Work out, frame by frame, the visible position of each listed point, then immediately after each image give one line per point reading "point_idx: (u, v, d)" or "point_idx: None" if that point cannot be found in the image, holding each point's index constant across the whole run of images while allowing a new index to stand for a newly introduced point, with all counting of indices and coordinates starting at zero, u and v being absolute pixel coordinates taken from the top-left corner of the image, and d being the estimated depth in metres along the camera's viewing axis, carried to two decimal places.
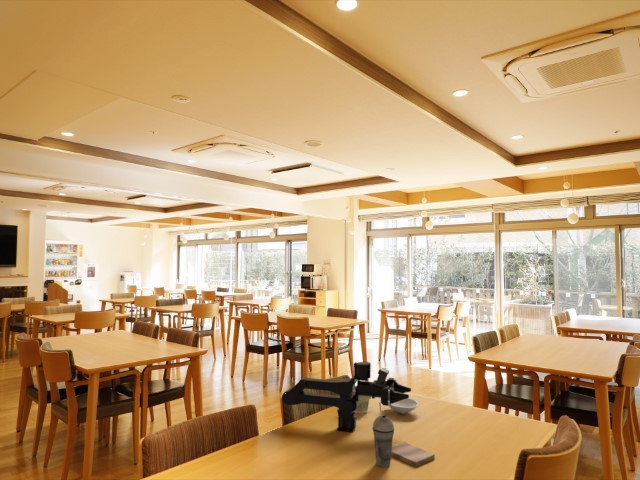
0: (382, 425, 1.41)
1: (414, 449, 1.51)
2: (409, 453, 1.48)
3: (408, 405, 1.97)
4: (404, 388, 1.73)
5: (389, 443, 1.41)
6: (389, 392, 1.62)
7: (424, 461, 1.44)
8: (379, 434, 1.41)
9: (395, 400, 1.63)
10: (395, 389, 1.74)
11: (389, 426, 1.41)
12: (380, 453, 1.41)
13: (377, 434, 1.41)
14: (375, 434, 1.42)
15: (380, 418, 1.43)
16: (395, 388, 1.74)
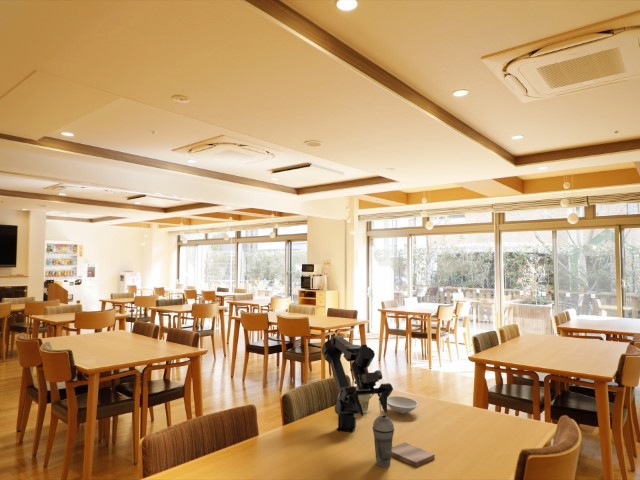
0: (382, 425, 1.41)
1: (414, 449, 1.51)
2: (409, 453, 1.48)
3: (408, 405, 1.97)
4: (383, 405, 1.54)
5: (389, 443, 1.41)
6: (349, 395, 1.52)
7: (424, 461, 1.44)
8: (379, 434, 1.41)
9: (353, 405, 1.54)
10: (381, 397, 1.58)
11: (389, 426, 1.41)
12: (380, 453, 1.41)
13: (377, 434, 1.41)
14: (375, 434, 1.42)
15: (380, 418, 1.43)
16: (381, 396, 1.57)
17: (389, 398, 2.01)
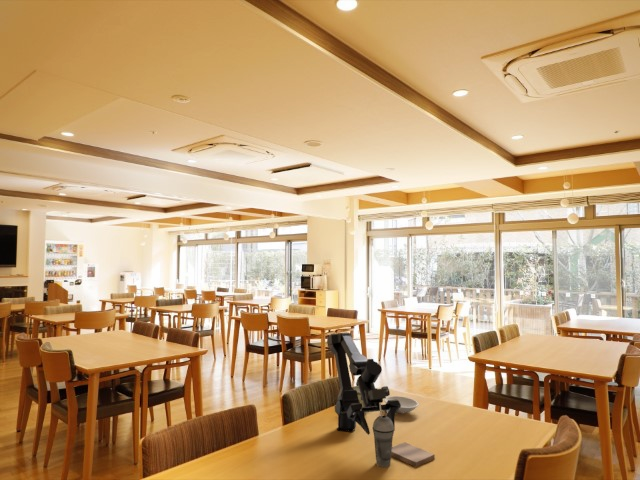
0: (382, 425, 1.41)
1: (414, 449, 1.51)
2: (409, 453, 1.48)
3: (408, 405, 1.97)
4: None
5: (389, 443, 1.41)
6: (355, 412, 1.46)
7: (424, 461, 1.44)
8: (379, 434, 1.41)
9: (359, 422, 1.47)
10: (388, 414, 1.51)
11: (389, 426, 1.41)
12: (380, 453, 1.41)
13: (377, 434, 1.41)
14: (375, 434, 1.42)
15: (380, 418, 1.43)
16: (388, 413, 1.51)
17: (389, 398, 2.01)
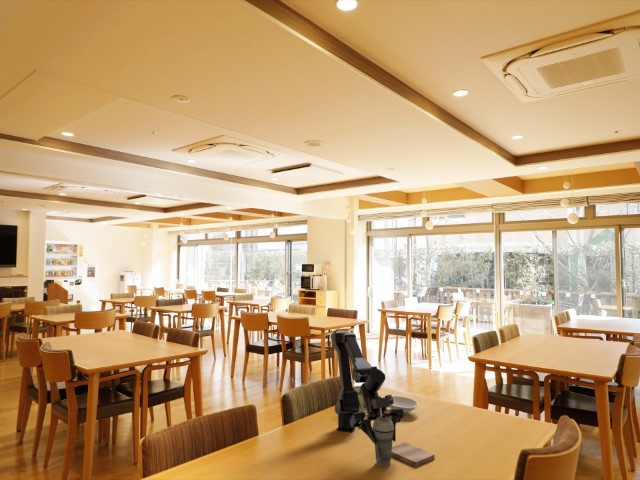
0: (382, 425, 1.41)
1: (414, 449, 1.51)
2: (409, 453, 1.48)
3: (408, 405, 1.97)
4: None
5: (389, 443, 1.41)
6: (361, 421, 1.44)
7: (424, 461, 1.44)
8: (379, 434, 1.41)
9: (365, 431, 1.45)
10: None
11: (389, 426, 1.41)
12: (380, 453, 1.41)
13: (377, 434, 1.41)
14: (375, 434, 1.42)
15: (380, 418, 1.43)
16: None
17: None
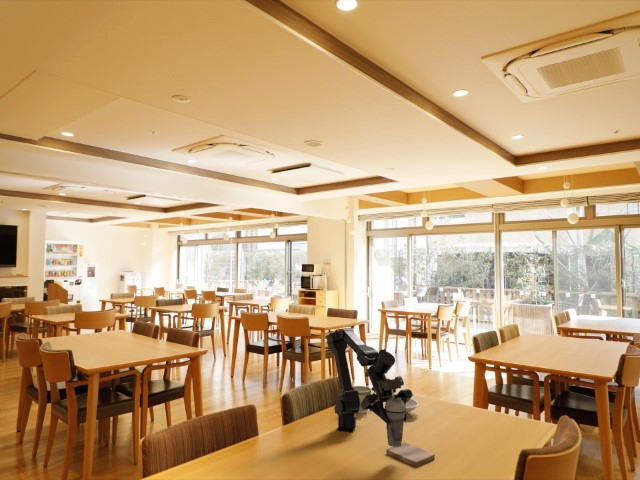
0: (396, 405, 1.43)
1: (414, 449, 1.51)
2: (409, 453, 1.48)
3: (408, 405, 1.97)
4: None
5: (401, 423, 1.44)
6: (374, 403, 1.45)
7: (424, 461, 1.44)
8: (392, 415, 1.43)
9: (377, 413, 1.47)
10: None
11: (402, 407, 1.44)
12: (393, 433, 1.43)
13: (390, 415, 1.43)
14: (388, 415, 1.44)
15: (392, 399, 1.45)
16: None
17: None
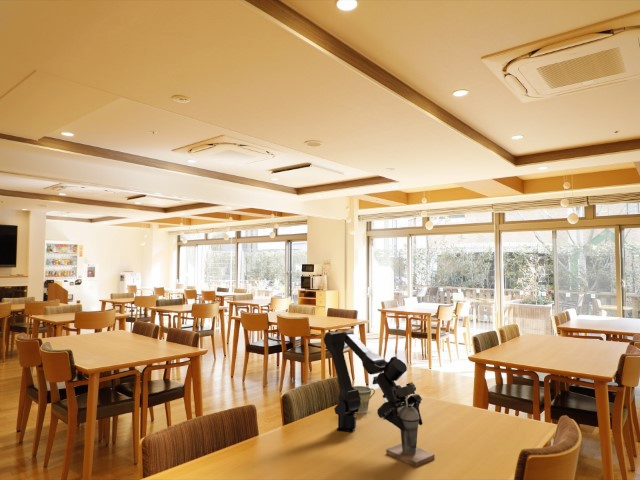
0: (412, 414, 1.47)
1: None
2: None
3: None
4: None
5: (417, 431, 1.48)
6: (389, 411, 1.47)
7: (424, 461, 1.44)
8: (409, 423, 1.46)
9: (391, 420, 1.48)
10: None
11: (417, 415, 1.48)
12: (409, 441, 1.47)
13: (407, 424, 1.47)
14: (404, 424, 1.47)
15: (407, 408, 1.49)
16: None
17: None
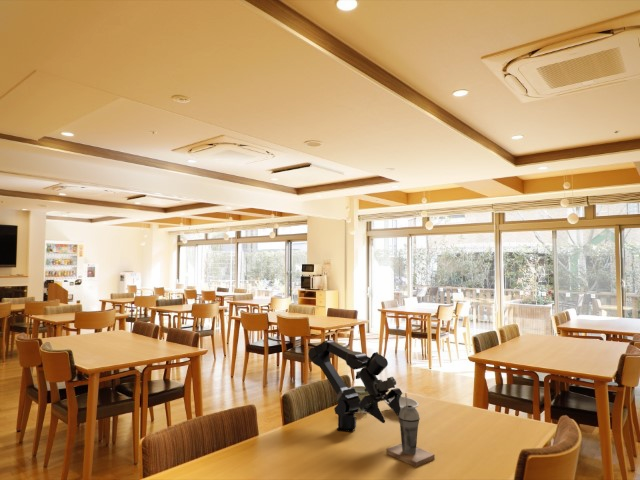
0: (412, 414, 1.47)
1: None
2: None
3: None
4: (397, 410, 1.60)
5: (417, 431, 1.48)
6: (370, 404, 1.54)
7: (424, 461, 1.44)
8: (409, 423, 1.46)
9: (371, 413, 1.56)
10: (392, 402, 1.63)
11: (417, 415, 1.48)
12: (409, 441, 1.47)
13: (407, 424, 1.47)
14: (404, 424, 1.47)
15: (407, 408, 1.49)
16: (392, 402, 1.63)
17: None
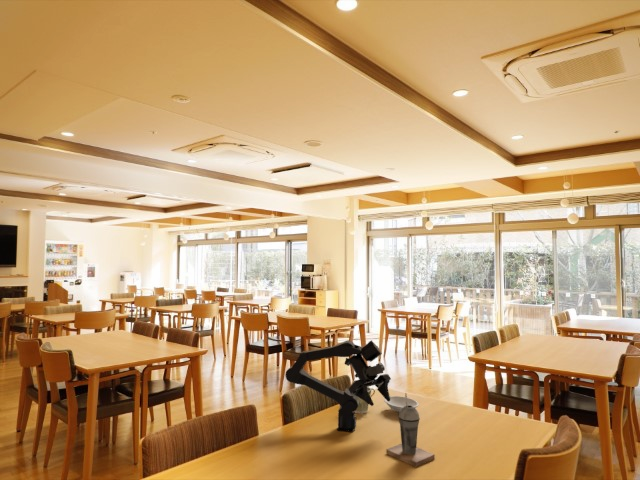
0: (412, 414, 1.47)
1: None
2: None
3: None
4: (386, 394, 1.68)
5: (417, 431, 1.48)
6: (359, 388, 1.62)
7: (424, 461, 1.44)
8: (409, 423, 1.46)
9: (361, 397, 1.64)
10: (381, 387, 1.71)
11: (417, 415, 1.48)
12: (409, 441, 1.47)
13: (407, 424, 1.47)
14: (404, 424, 1.47)
15: (407, 408, 1.49)
16: (381, 386, 1.71)
17: None
